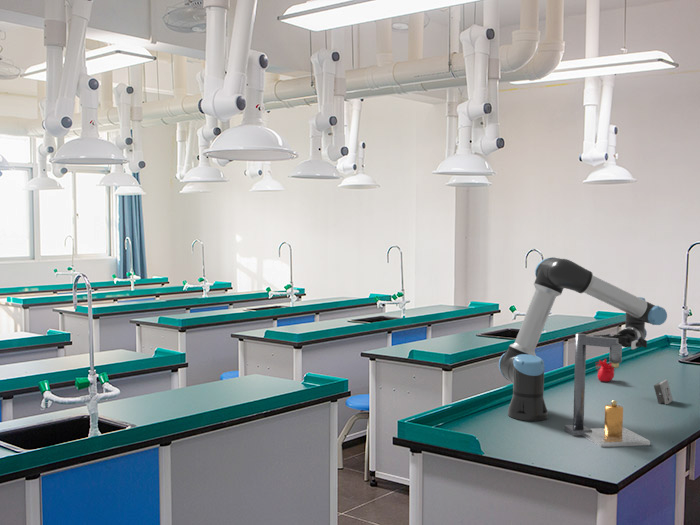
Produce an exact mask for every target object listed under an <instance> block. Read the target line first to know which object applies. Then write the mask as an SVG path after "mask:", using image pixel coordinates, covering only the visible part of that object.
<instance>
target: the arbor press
mask: <svg viewBox="0 0 700 525" xmlns="http://www.w3.org/2000/svg"><path fill="white" fill-rule="evenodd" d="M574 342H575V345H574V346H575V348H574V380H573V381H574V382H573V387H574V388H573V421H572V424H569V425H567V424H565V425H564V431H565V432H566V433H567V434H569V435H570V436H572V437H584V438H585V439H587V440H589V441H590V442H592V443H594V444H595V445H596V446H598V447H600V448H608V447H609V448H610V447H611V448H612V447H633V446H634V447H637V446H640V447H641V446H650V445H651V440H649V439H647V438H645V437H644V436H642V435H640V434H638V433H637V432H634V431H632V430H630V429H628V428H626V427H623V432H622V437H609V436H606V435H605V434H604V427H603V428H601V427H599V428H598V427H597V428H589V427H588V426H585V425H584V424H585V398H586V397H585V393H586V391H585V387H586V360H587V358H586V357H587V356H586V355H587V353H586V351H587V346H592V347H603V348H609V359H608V360H609V361H608V362H609V363H610V362H611V363H612V367H613V368H614V369H618V368H620V363H622V361H623V360H622V356H623V354H622V353H623V346H622V345H621V344H619V343H618V338H608V337H597V336H594V335H587V334H586V333H575V341H574Z"/></svg>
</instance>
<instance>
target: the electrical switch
mask: <svg viewBox="0 0 700 525" xmlns="http://www.w3.org/2000/svg"><path fill="white" fill-rule="evenodd" d="M669 384H670V383H669V382H668V380H667V379H664V380H663V381H661V382H657V383H656V384H654V385H653V388H654V391H655V395H656V399H657V403H658V404H664V405H665V404H667V405H669V404H670V403H672V402H673V400H674V398H673V394H672V392H671V387H670V385H669Z"/></svg>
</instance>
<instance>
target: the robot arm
mask: <svg viewBox="0 0 700 525" xmlns="http://www.w3.org/2000/svg"><path fill="white" fill-rule="evenodd" d="M534 272H535V280H534V283H533V285H534V288H535V291H534V292H533V296H532V298H531V300H530V303H529V305H528V308H527V311H526V313H525V316H524V319H523V321H522V323H521V326H520V329H519V331H518V333H517V335H516V338H515V340H514V343H511V344H509V346H508V348H507V351H506V352H504V353H503V354H502V355H501V356H500V358H499V361H498V370H499V372H500V374H501V375H502V376H503V377H504V378H505V379H506V380H508V381H510V382H512V398H511V400H510V403H509V404H508V408H507V415H508V416H509V417H510V418H512V419H515V420H520V421H526V422H527V421H528V422H539V421H545V420H547V419H548V416H549V415H548V414H549V413H548V409H547V405H546V402H545V398H544V393H545V392H544V389H545V361H544V360H543V359H542V358H541V357H540V356H537V354H536V351H535V350H536V347H537V345H538V343H539V340H540V338H541V335H542V333H543V331H544V328H545V326H546V324H547V320H548V319H549V315H550V313H551V311H552V308H553V305H554V303H555V300H556V298H557V297H559V296H561V295H562V294H563V291H564V289H566V290H571V291H574V292H576V293H579V294H586V295H588V296H591V297H593V298H594V299H597V300H599V301H601V302H604V303H605V304H608V305H609V306H612V307H614V308H616V309H618V310H620V311H622V312H625V328H623V329H621V330H619V331H618V333H617V334H610V333H607V334H598V335H597V334H596V335H593V336H597V337H608V338H618V344H621V345H622V348H631V350H636V349H637V348H641V347H643V348H645V349H646V348H647V346H648V341H647V339H646V337H647V332H648V331H647V330H646V323H647V324H650V325H652V326H661V325H663V324H665V322H666V321H667V319H668V313H667V312H668V311H667V310H666V309H665V308H664V307H662V306H659V305H655V304H653V303H651V302H650V301H649V302H648V301H646V299H645V297H641V296H640V297H639V296H636V295H634V294H632V293H629V291H628V292H627V291H626V290H623V289H622V288H619V287H617V286H615V285H614V284H612V283H609V282H608V281H605V280H603V279H601V278H599V277H597V276H595V275H594V274H593V272H592V271H591V270H588V269H586V268H585V267H583V266H581V265H579V264H578V263H576V262H574V261H572V260H570V259H568V258H567V259H566V258H560V257H554V256H553V257H548V258H544V259H542V260H541V261H539V263H538V264H537V265H536V267H535V270H534Z"/></svg>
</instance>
